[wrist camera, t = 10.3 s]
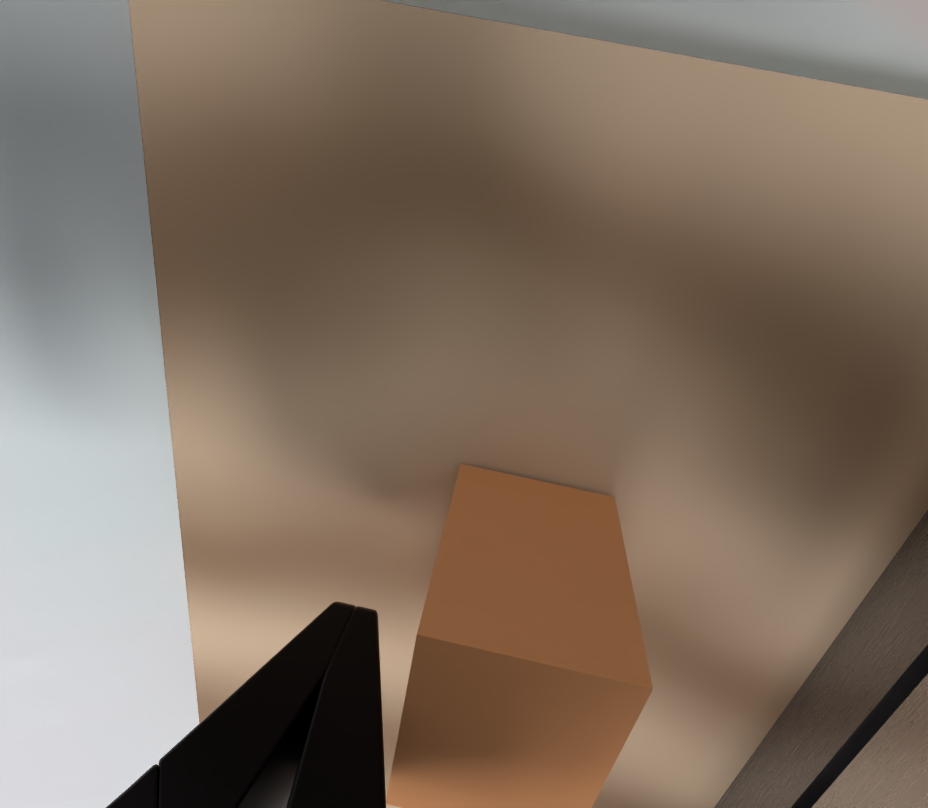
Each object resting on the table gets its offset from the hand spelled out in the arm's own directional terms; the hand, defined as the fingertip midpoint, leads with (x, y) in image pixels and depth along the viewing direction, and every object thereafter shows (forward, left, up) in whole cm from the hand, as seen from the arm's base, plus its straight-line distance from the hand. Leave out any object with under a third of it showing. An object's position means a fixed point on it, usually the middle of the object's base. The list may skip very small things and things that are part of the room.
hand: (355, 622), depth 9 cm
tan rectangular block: (0, -3, -2) cm, 4 cm away
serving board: (-2, -4, -4) cm, 6 cm away
